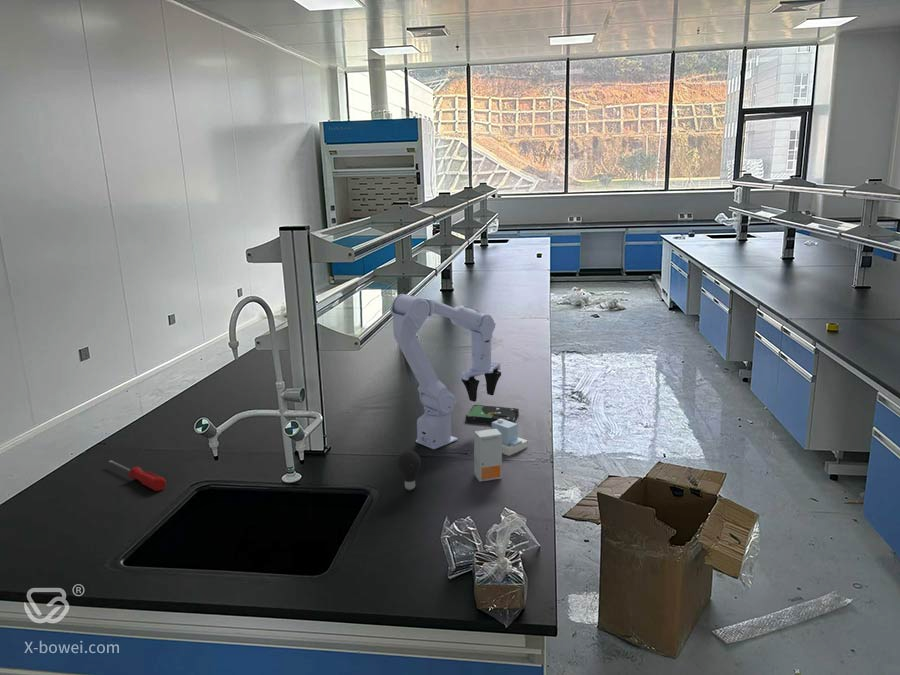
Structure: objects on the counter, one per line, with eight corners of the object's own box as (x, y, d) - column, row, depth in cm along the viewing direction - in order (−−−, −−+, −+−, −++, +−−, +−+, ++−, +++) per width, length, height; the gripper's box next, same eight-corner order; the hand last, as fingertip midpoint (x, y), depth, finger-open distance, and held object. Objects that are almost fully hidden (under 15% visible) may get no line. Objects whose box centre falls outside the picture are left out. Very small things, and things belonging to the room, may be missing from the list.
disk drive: (518, 416, 201) (473, 412, 206) (519, 408, 201) (473, 403, 205) (512, 428, 192) (464, 423, 196) (512, 419, 191) (464, 415, 195)
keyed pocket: (508, 455, 171) (508, 448, 171) (482, 445, 178) (482, 439, 178) (527, 447, 177) (527, 440, 176) (501, 437, 184) (501, 431, 183)
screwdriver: (117, 464, 172) (115, 452, 171) (168, 488, 157) (166, 475, 156) (103, 469, 169) (101, 456, 168) (154, 494, 154) (152, 481, 154)
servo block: (513, 454, 173) (513, 427, 171) (486, 443, 180) (486, 418, 178) (523, 449, 175) (523, 423, 173) (496, 439, 182) (496, 414, 181)
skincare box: (479, 482, 157) (479, 437, 154) (474, 475, 161) (473, 431, 158) (502, 479, 158) (502, 434, 155) (496, 471, 162) (496, 427, 159)
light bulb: (393, 489, 154) (392, 451, 151) (411, 482, 158) (409, 444, 155) (409, 497, 150) (407, 458, 148) (426, 489, 154) (425, 451, 151)
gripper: (473, 361, 179) (474, 406, 182) (508, 351, 188) (507, 394, 191) (456, 356, 184) (457, 401, 187) (490, 347, 193) (490, 389, 196)
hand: (481, 397), depth 189 cm, fingers open, 7 cm apart
